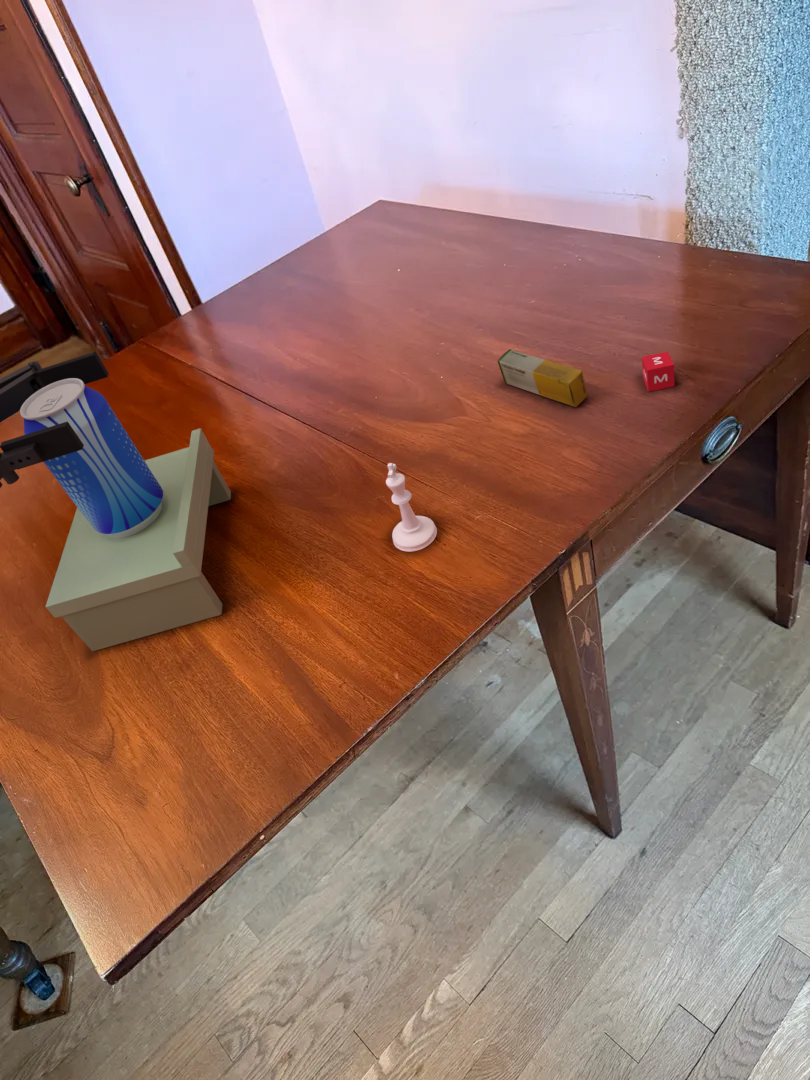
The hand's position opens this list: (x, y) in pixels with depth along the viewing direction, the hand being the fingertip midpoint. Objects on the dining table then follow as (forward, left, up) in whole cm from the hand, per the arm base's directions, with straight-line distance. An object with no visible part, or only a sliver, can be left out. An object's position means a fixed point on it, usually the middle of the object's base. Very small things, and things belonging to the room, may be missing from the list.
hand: (89, 397), depth 73 cm
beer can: (-2, +3, -15) cm, 15 cm away
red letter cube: (+44, -40, -23) cm, 63 cm away
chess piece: (+12, -25, -23) cm, 36 cm away
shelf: (-2, +2, -23) cm, 23 cm away
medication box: (+39, -27, -23) cm, 53 cm away
